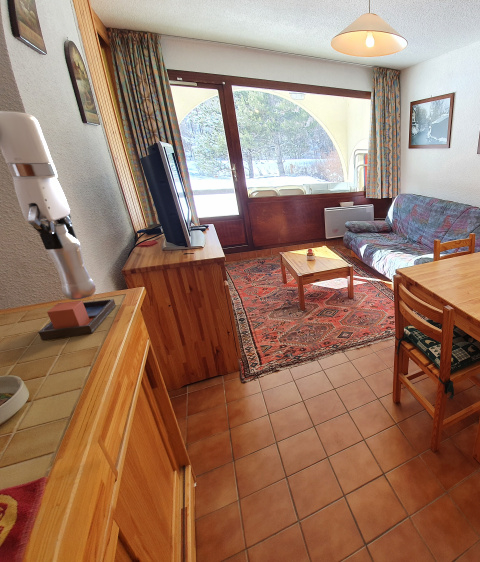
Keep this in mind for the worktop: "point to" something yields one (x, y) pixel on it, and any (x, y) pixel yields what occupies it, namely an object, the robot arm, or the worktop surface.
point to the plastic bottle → (71, 266)
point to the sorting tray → (96, 315)
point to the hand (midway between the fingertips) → (62, 244)
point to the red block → (68, 315)
